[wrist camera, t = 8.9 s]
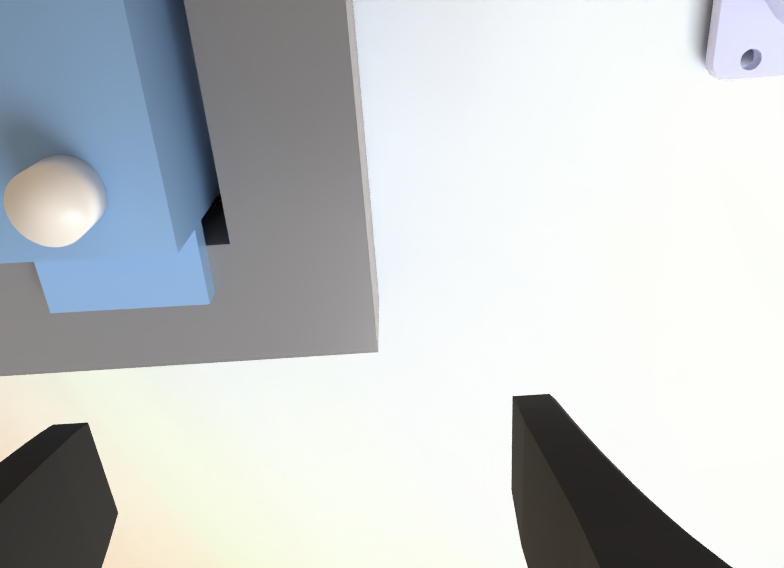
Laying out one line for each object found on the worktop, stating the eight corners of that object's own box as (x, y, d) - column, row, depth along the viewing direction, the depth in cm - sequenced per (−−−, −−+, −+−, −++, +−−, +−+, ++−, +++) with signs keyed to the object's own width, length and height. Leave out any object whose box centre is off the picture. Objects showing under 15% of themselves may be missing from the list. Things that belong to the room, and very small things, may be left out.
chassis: (328, -272, 15) (315, -322, 12) (379, 299, 21) (378, 352, 18) (-214, -226, 15) (-346, -264, 12) (-4, 325, 21) (-62, 380, 18)
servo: (168, -152, 16) (53, -206, 10) (237, 246, 20) (184, 356, 15) (-4, -141, 16) (-207, -188, 10) (104, 254, 20) (1, 366, 15)
